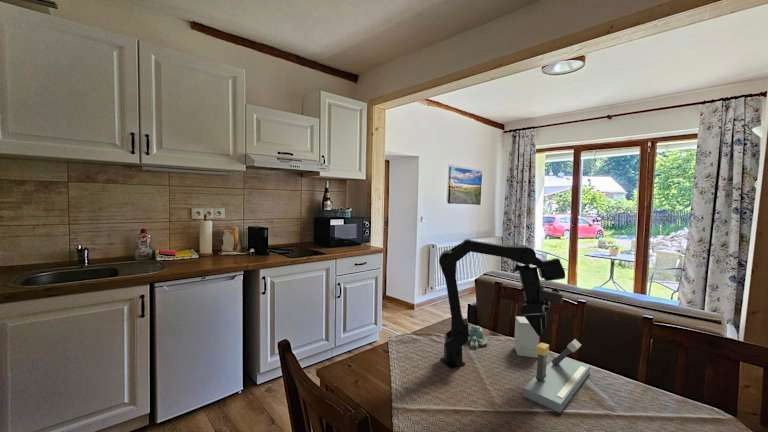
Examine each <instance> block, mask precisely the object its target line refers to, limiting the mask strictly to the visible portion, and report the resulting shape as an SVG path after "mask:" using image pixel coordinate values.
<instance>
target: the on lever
mask: <svg viewBox="0 0 768 432" xmlns="http://www.w3.org/2000/svg"><path fill="white" fill-rule="evenodd" d="M581 346H582V344H581V343H580V342H579V341H578V340H577V339H576V338H574V339H573V340H572V341H571V342H569V343H568V345H566V348H565V349H564V350H562V352H561V353H559V354H558V356H557V355H556V356H557V357H556V356H555V357H554V358H553V359H552V360H551V361H552V364H553V365H555V366H557V365H558V364H559V363H560V362H561V361H562V360H563V359H564V358H568V356H569V355H570V354H571V353H576V352H577V350H578V349H579V348H581Z"/></svg>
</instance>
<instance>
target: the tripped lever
mask: <svg viewBox="0 0 768 432" xmlns="http://www.w3.org/2000/svg"><path fill="white" fill-rule="evenodd" d="M549 352H550V344H548V343H545V342H542V341H541V342H539V344H538V345H537V346H536V353H537V354H538V358H537V361H536V362H537V365H536V375H535V376H536V379H537V380H538V381H539V382H541V381H543V380H544V379H545V378H546V366H547V357H548V356H547V354H548V353H549Z"/></svg>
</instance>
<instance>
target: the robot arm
mask: <svg viewBox="0 0 768 432" xmlns="http://www.w3.org/2000/svg"><path fill="white" fill-rule="evenodd" d="M469 253H476V254H483V255H488V256H495V257H501V258H505V259H508V260H510V261H513V262H516V264H515V265H514V267H513V268H512V272H518V273H519V279H520V283H521V290H520V291H521V292H523V296H524V301H523V302H524V303H523V304H522V306H520V311H521V315H523V316H522V317H525V318H526V319H527V321H528V322H529V323H530V325H531V326H532V327H533V329H534V330H535V332H536V333H537V335H538V336H539V337H542V336H543V331H545V330H547V311H548V310H549V309H550V306H551V303H552V304H554V305H558V306H561V305H562V304H563V300H564V293H563V292H560V289H559V288H556V287H553V288H552V290H550V289H548V290H547V289H545V287H544V285H542V284H541V281H540V279H541V280H544V281H545V282H551V281H559V280H564V279H566V272H565V269H564V267H563V264H562V263H561V259H560V258H557V257H555V258H552V259H545V260H542V259H540V258H539V257H537V254H536V251H535V250H534V249H533V248H531V247H530V246H528V245H525V244H511V245H503V244H497V243H491V242H485V241H478V240H473V239H470V238H466V239H464V240H463V241H462V242H461V243H459V244H456V246H454V247H452V248H451V249H446V250H444V251H441V253H440V254H439V259H438V260H439V261H438V262H439V263H438V264H439V267H440V269H441V271H442V274H443V276H444V279H445V285H446V292H447V296H448V303H449V310H450V316H451V320H450V321H451V322H450V327H451V328H450V329H449V330H448V331H446V333H445V334H444V343H443V345H444V346H443V357H439V360H440V361H441V362H442V363H443V364H444V365H446V366H447V367H448V368H450V369H452V368H459V367H461V366H465V365H466V362H465V361H463V346H464V345H466V343H467V342H468V336H470V331H469V327H470V326H469V321H468V320H469V319H468V317H465V318H464V316H463V313H462V308H461V301H460V293H459V289H458V283H457V262H459V261H460V260H462V259H463V258H464V257H465V256H466V255H468V254H469ZM518 263H519V264H518ZM521 264H522V265H521ZM530 265H532V266H530Z"/></svg>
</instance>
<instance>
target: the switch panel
mask: <svg viewBox="0 0 768 432" xmlns="http://www.w3.org/2000/svg"><path fill="white" fill-rule="evenodd" d="M558 355H559V354H558ZM558 355H556V356H555V357H557V356H558ZM590 373H591V365H589V364H585V363H583V362H579V361H577V360H574V359H571V358H568V357H565V358H564V359H563V360H562V361H561V362H560V363H559V364H558V365H557V366H555V365H553V364H552V360H551V361H550V362H549V363H548V364H546V378H545V379H544V380H543V381H541V382H539V381H538V380H537V379H536V375H535V376H534V377H533V378H532V379H531V380H530V381H529V382H528V383H527V384H526V385H525V386H524V387H523V392H522V393H523V394H522V395H523V397H525V398H526V399H528V400H531V401H533V402H536V403H538V404H540V405H542V406H545V407H547V408H548V409H551V410H554V411H555V412H556V413H562V411H563V410H564V409H565V407H566V406H567V404H568V403H569V402H570V400H572V398H573V396H574V395H575V393H576V392H577V391H578V390H579V388H580V387H581V385H582V384H583V383H584V382H585V380H586V379H587V377H588V376H589V374H590Z"/></svg>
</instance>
